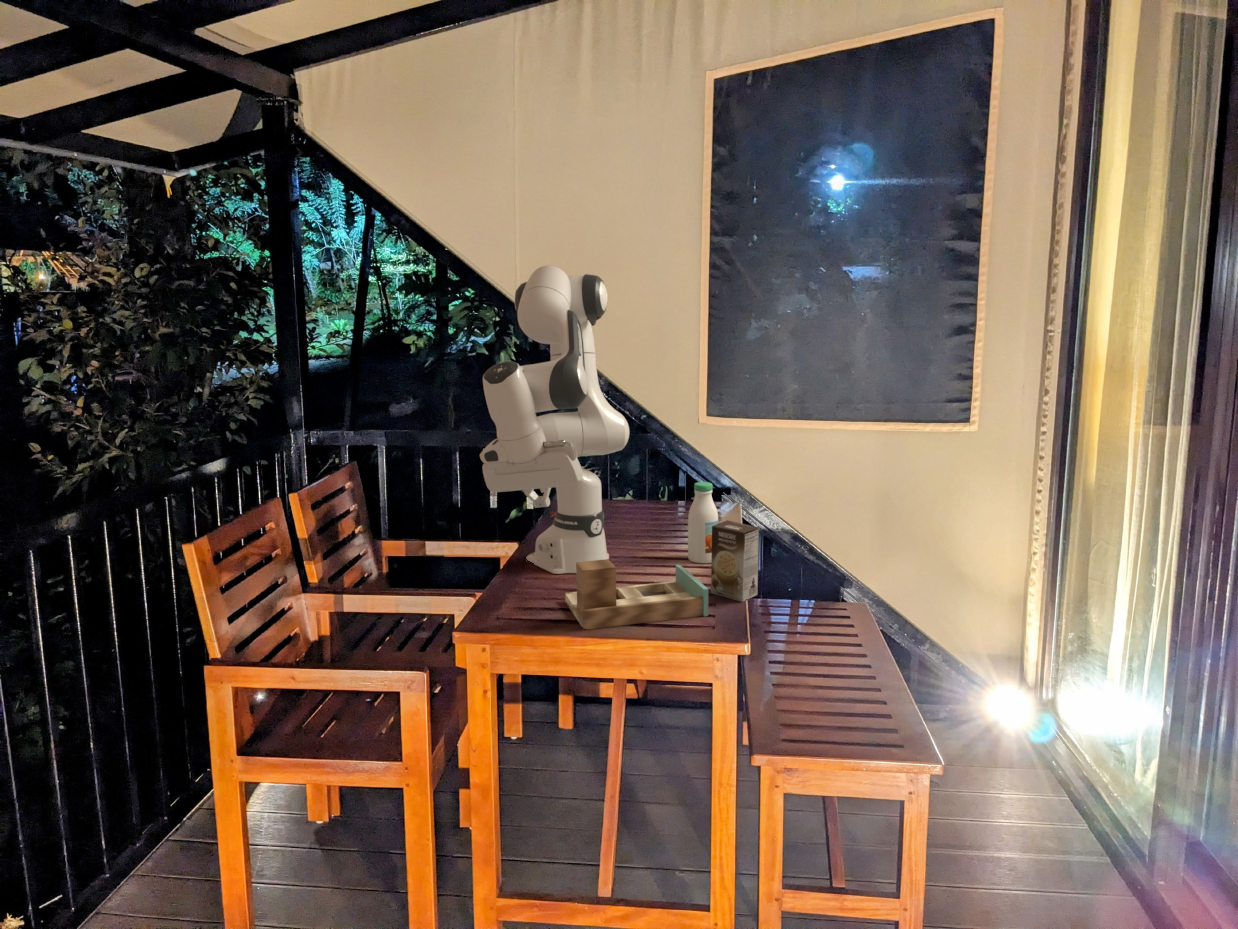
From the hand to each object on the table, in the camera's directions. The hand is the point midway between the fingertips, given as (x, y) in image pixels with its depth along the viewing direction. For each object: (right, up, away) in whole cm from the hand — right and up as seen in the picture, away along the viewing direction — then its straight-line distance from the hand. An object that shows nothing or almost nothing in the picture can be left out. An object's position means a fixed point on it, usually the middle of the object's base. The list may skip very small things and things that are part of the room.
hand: (542, 505), depth 182 cm
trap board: (+18, -23, +15) cm, 33 cm away
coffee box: (+41, -21, +23) cm, 52 cm away
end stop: (+31, -22, +18) cm, 42 cm away
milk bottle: (+37, -16, +49) cm, 64 cm away
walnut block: (+11, -22, +8) cm, 26 cm away
